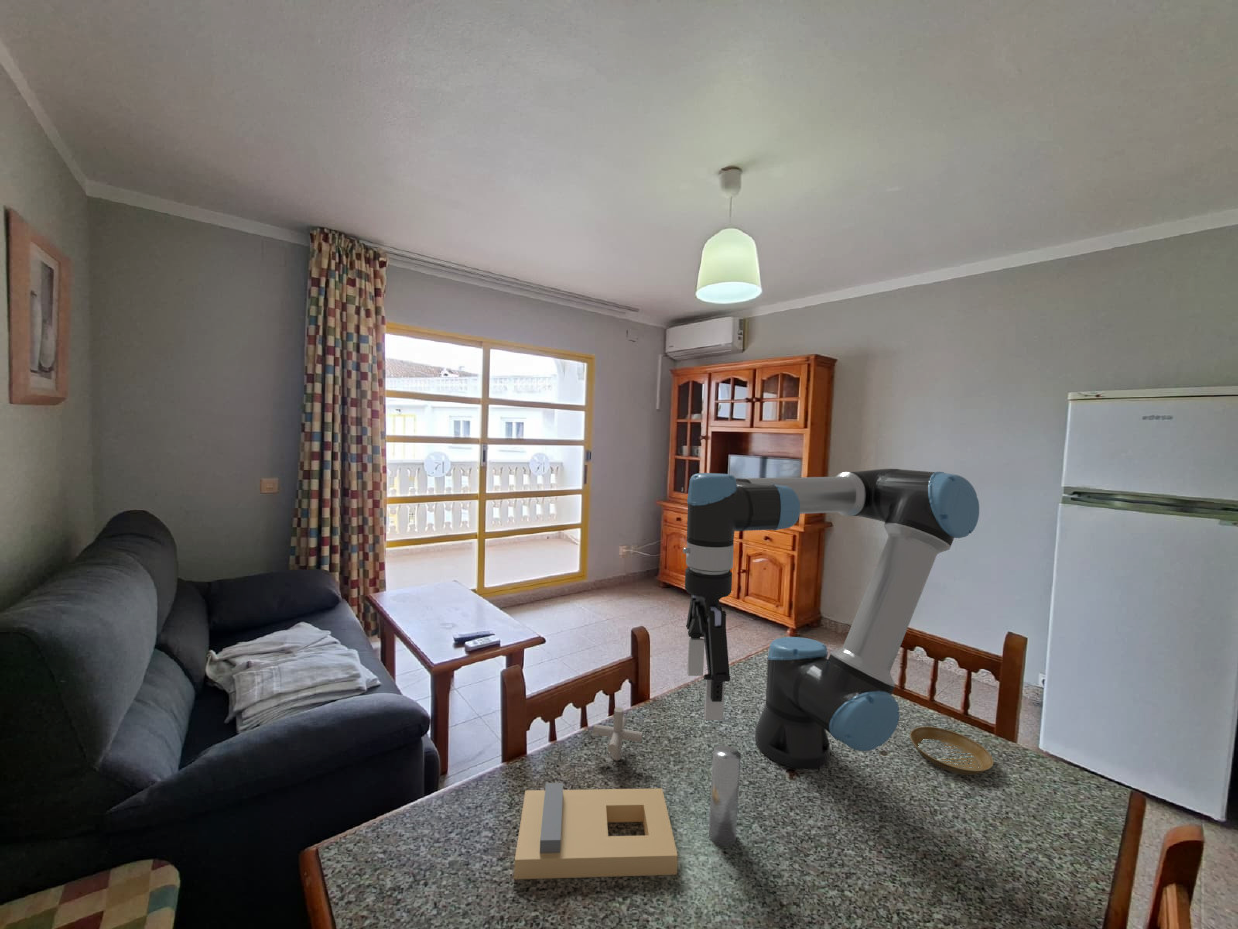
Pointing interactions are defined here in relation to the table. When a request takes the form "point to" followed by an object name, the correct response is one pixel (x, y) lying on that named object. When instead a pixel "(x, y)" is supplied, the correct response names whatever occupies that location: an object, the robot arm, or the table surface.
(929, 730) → the plant saucer
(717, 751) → the grey metal cylinder
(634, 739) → the pipe connector
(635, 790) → the jig
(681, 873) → the table surface
